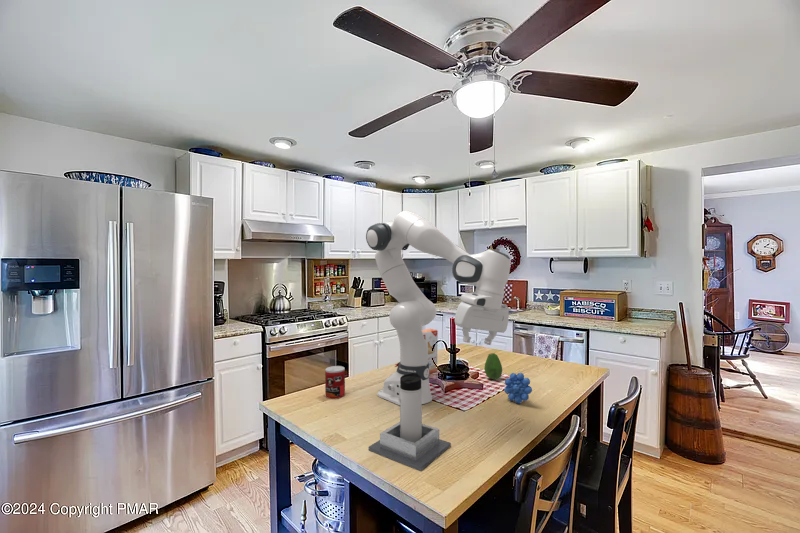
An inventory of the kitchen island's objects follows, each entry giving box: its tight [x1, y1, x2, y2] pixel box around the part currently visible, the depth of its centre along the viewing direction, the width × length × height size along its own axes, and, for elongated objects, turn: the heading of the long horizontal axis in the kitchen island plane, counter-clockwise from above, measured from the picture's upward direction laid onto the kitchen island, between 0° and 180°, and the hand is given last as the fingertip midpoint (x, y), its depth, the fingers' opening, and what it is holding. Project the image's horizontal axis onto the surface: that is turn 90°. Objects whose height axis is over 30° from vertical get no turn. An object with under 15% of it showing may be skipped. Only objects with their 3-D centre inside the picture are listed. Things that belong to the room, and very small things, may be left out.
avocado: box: [484, 353, 503, 381], centre depth 170 cm, size 8×8×12 cm
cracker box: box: [422, 328, 439, 375], centre depth 179 cm, size 14×6×21 cm, turn 128°
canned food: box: [324, 365, 346, 400], centre depth 150 cm, size 8×8×11 cm
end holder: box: [368, 421, 452, 472], centre depth 107 cm, size 18×16×5 cm
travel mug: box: [399, 373, 423, 443], centre depth 108 cm, size 6×7×20 cm
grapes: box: [503, 372, 533, 405], centre depth 141 cm, size 12×7×12 cm, turn 41°
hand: (476, 343), depth 117 cm, fingers open, 8 cm apart
